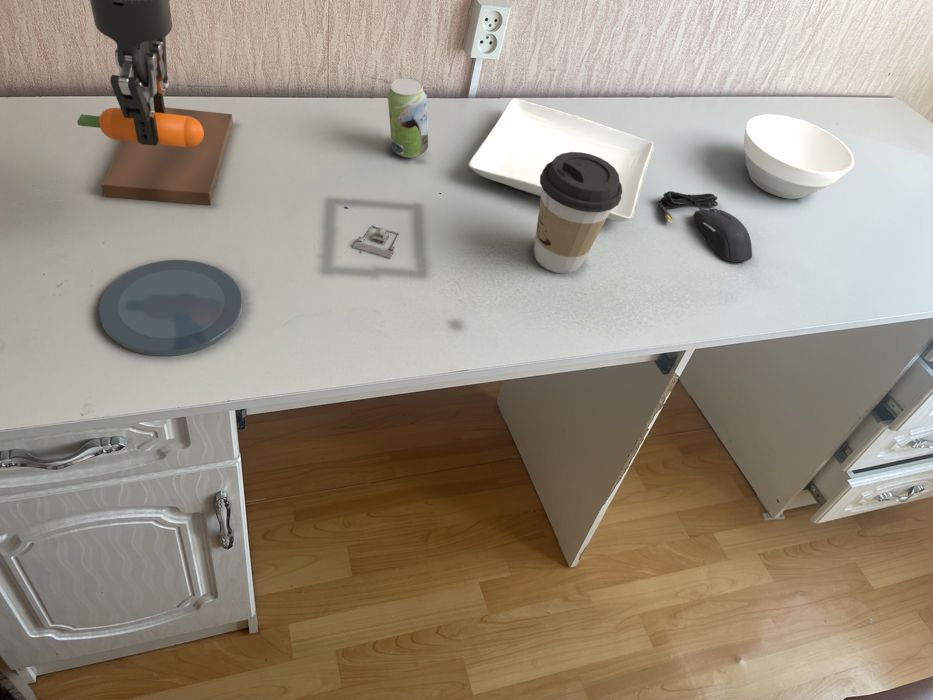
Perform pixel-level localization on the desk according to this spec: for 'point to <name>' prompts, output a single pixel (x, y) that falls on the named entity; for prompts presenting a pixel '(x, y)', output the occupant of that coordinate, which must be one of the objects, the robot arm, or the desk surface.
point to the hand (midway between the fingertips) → (152, 133)
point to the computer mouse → (713, 225)
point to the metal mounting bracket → (378, 237)
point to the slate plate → (170, 307)
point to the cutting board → (172, 165)
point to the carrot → (168, 125)
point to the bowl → (793, 156)
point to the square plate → (559, 150)
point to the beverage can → (408, 117)
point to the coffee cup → (573, 208)
